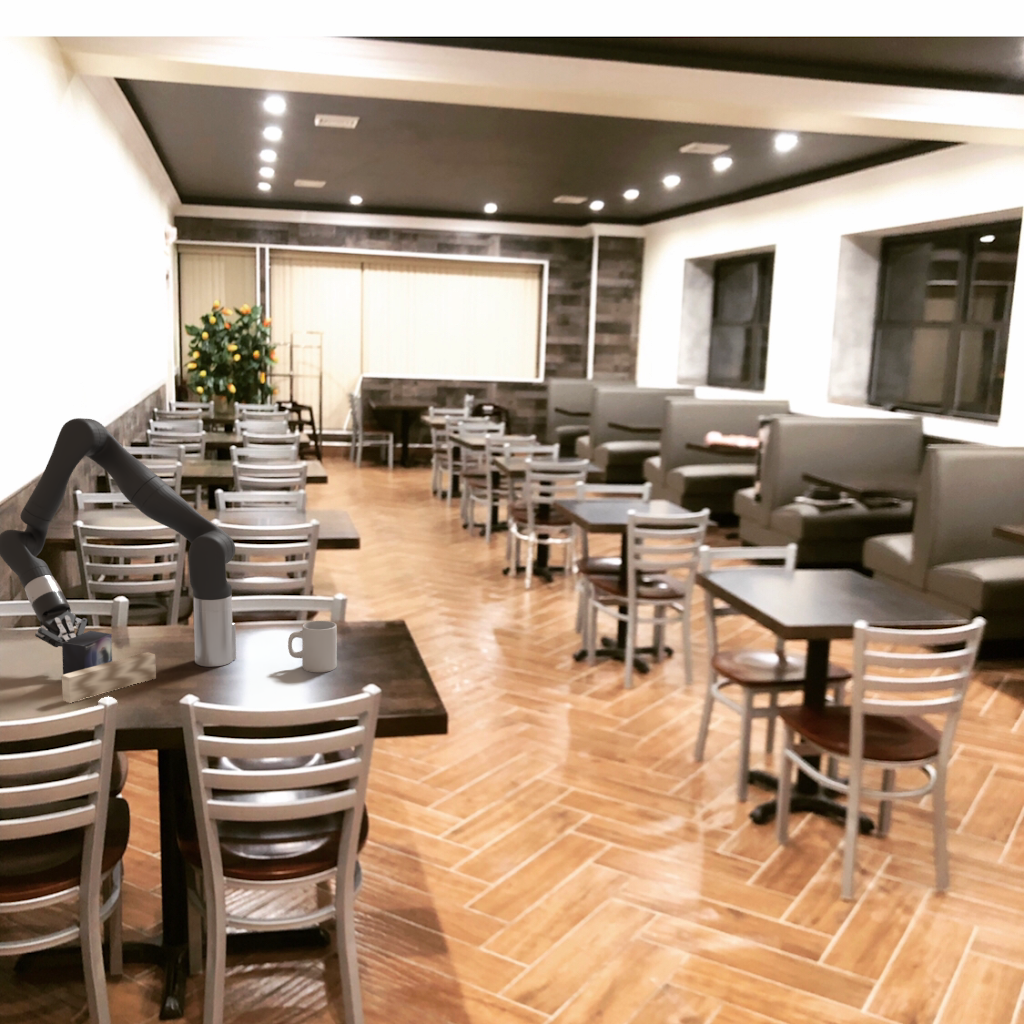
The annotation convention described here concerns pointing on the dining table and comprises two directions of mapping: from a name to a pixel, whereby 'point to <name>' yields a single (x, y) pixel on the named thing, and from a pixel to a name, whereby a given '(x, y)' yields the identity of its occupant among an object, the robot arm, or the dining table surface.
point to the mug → (316, 646)
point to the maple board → (108, 676)
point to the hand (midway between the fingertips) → (77, 657)
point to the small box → (86, 651)
